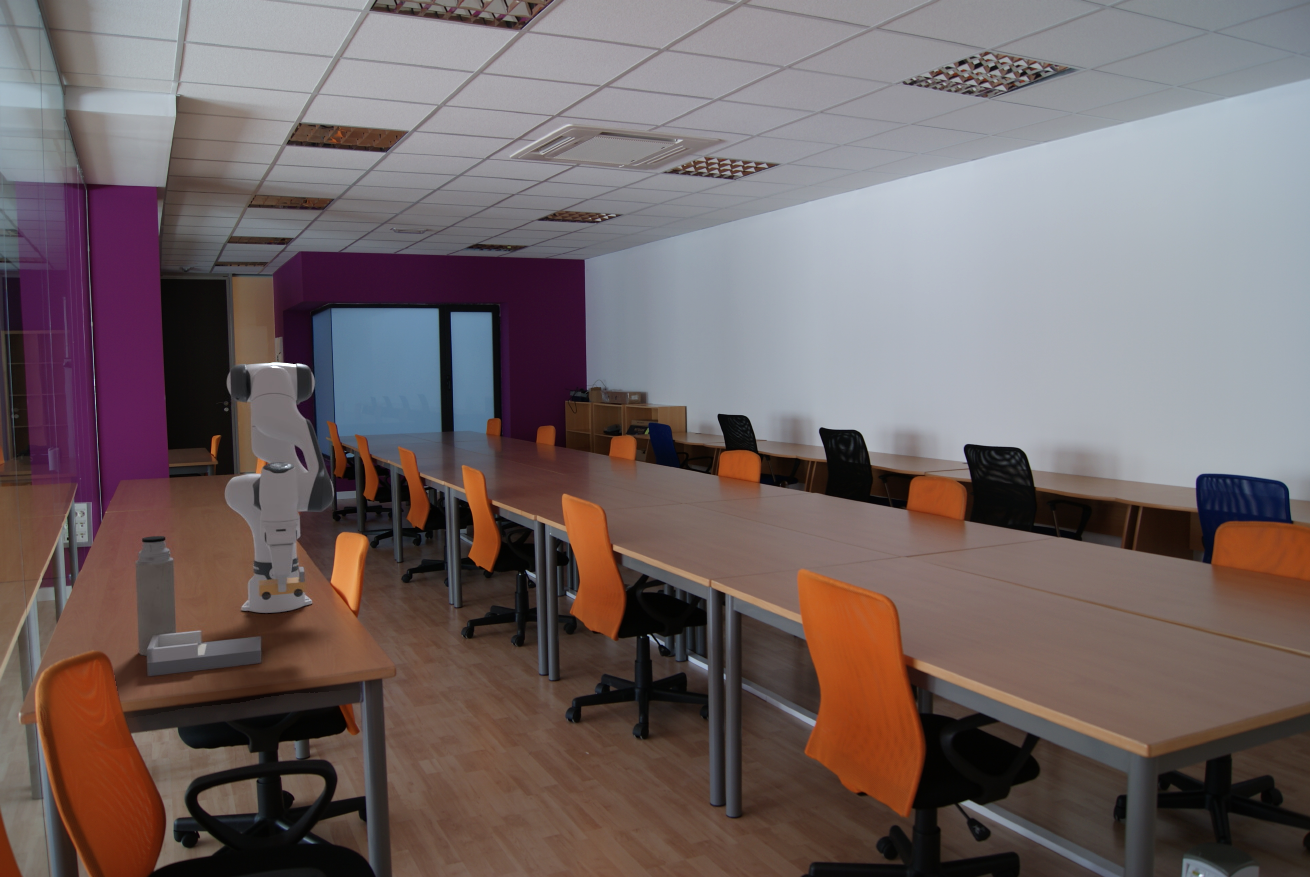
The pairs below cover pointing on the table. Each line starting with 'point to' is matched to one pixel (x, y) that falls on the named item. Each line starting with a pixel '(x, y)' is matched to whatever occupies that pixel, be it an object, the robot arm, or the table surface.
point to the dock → (198, 653)
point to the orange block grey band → (292, 586)
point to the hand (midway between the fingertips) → (281, 587)
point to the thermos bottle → (154, 591)
